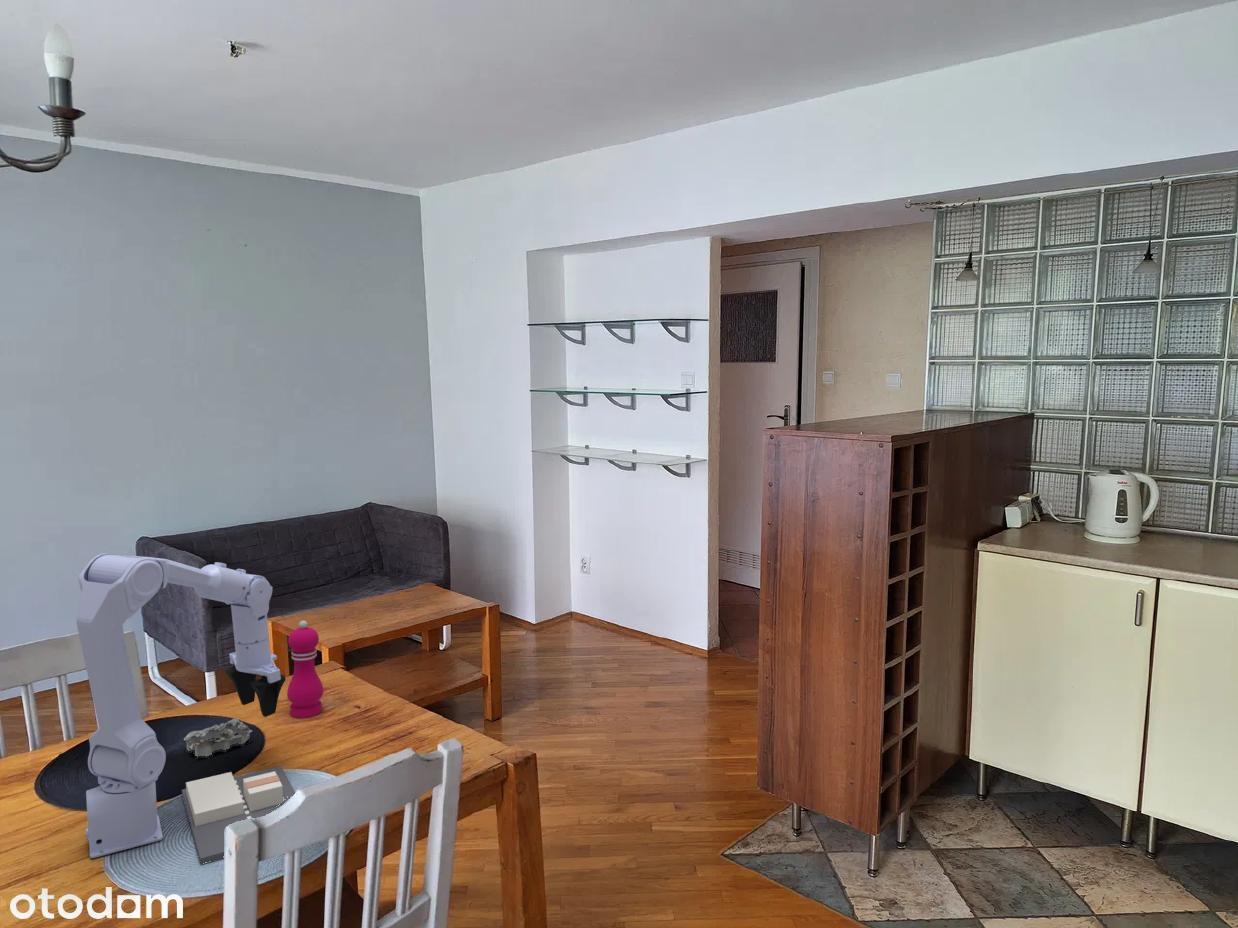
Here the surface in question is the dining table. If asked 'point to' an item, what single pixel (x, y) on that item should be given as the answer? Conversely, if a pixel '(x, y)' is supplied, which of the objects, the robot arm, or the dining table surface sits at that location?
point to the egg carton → (224, 732)
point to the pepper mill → (304, 673)
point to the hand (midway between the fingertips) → (258, 708)
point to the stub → (263, 791)
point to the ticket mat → (216, 829)
